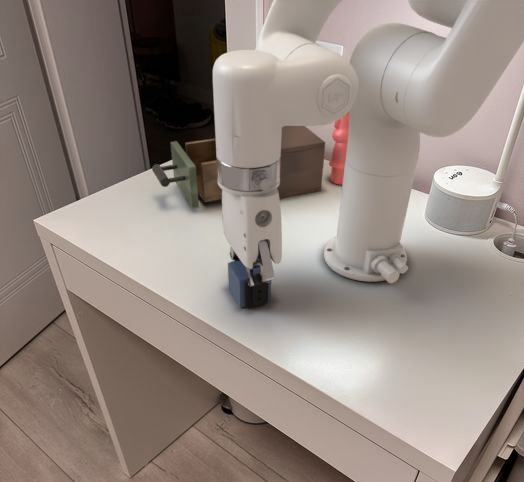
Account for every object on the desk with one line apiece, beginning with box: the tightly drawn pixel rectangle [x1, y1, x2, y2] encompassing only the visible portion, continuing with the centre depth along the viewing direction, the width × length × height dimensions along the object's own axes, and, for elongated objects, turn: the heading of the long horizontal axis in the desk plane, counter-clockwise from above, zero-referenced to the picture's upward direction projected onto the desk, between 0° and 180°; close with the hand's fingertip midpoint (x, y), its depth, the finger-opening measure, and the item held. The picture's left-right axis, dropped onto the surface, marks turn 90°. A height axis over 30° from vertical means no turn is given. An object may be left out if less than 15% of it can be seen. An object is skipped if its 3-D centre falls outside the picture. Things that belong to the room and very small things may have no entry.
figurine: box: [328, 111, 349, 186], centre depth 98 cm, size 5×5×15 cm
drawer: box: [151, 137, 222, 209], centre depth 95 cm, size 18×11×7 cm, turn 113°
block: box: [227, 258, 272, 309], centre depth 74 cm, size 5×5×5 cm
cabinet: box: [277, 126, 326, 199], centre depth 99 cm, size 15×13×9 cm
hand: (249, 292), depth 76 cm, fingers closed on block, 4 cm apart
